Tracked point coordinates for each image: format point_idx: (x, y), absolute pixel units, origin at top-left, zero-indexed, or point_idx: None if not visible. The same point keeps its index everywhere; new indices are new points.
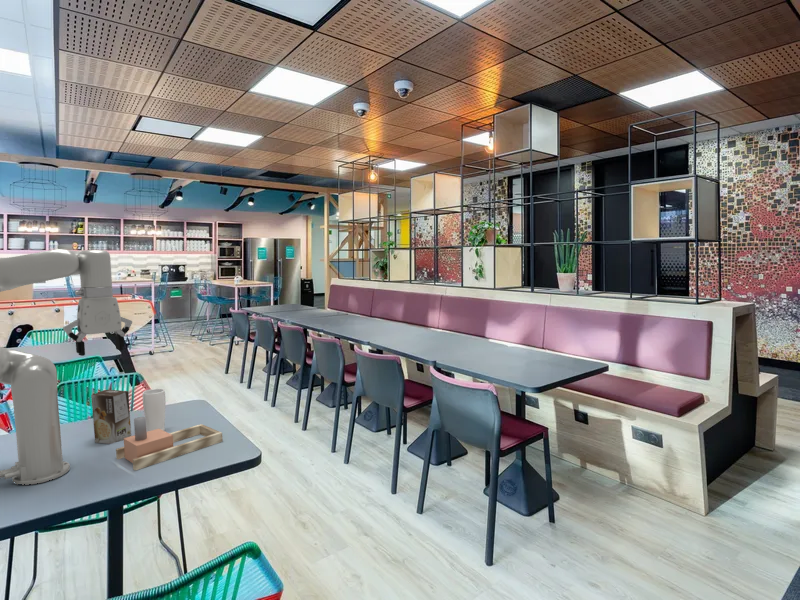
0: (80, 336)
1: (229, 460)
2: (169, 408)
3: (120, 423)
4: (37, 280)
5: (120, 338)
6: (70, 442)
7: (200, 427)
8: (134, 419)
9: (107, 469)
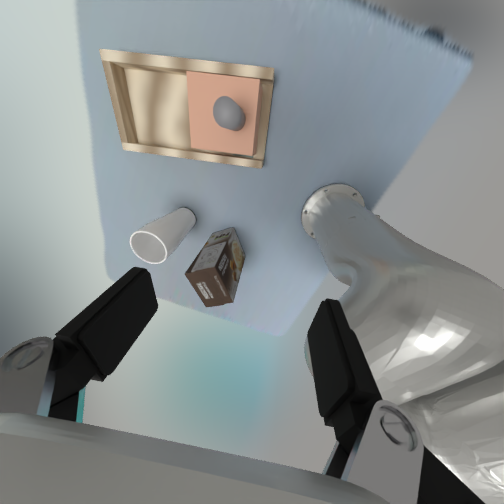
0: (404, 475)
1: None
2: None
3: (219, 241)
4: None
5: (78, 325)
6: (260, 278)
7: (129, 140)
8: (235, 119)
9: (283, 150)
